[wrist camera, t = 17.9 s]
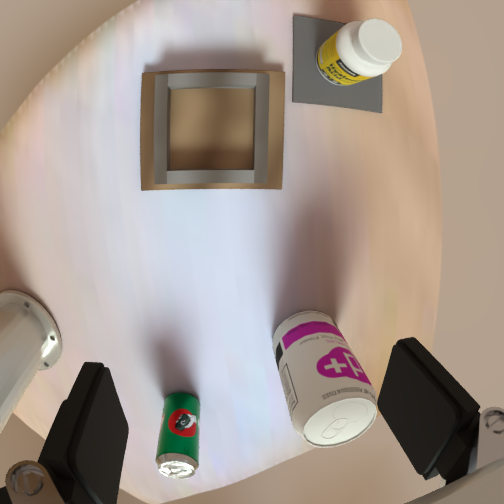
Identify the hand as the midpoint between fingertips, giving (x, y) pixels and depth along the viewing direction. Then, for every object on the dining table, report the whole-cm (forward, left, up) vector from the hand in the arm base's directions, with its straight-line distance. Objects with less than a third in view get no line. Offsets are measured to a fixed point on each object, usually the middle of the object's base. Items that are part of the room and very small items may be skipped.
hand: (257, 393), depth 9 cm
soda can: (-7, -26, -25) cm, 37 cm away
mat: (+11, +17, -25) cm, 32 cm away
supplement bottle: (+11, +17, -25) cm, 32 cm away
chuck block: (-2, +9, -25) cm, 27 cm away
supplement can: (+9, -15, -25) cm, 31 cm away
